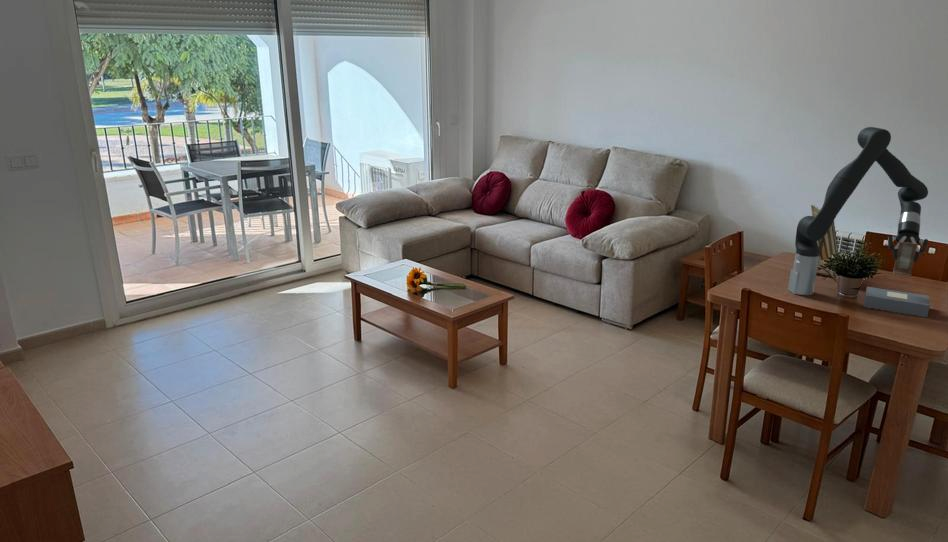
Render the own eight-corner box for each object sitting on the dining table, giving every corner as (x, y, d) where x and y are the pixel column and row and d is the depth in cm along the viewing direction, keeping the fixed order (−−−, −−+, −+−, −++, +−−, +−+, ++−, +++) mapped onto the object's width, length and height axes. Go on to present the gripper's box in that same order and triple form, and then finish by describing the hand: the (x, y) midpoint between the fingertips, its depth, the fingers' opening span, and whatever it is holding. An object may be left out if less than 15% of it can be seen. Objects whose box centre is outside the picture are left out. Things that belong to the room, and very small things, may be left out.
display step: (863, 307, 277) (865, 295, 276) (864, 297, 289) (867, 286, 287) (927, 317, 266) (929, 305, 265) (926, 307, 278) (928, 295, 276)
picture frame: (842, 285, 305) (854, 220, 296) (818, 283, 307) (829, 218, 298) (822, 265, 336) (832, 205, 327) (800, 263, 338) (810, 204, 329)
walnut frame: (892, 270, 279) (899, 240, 275) (909, 273, 276) (916, 242, 272) (893, 274, 274) (900, 243, 270) (911, 276, 271) (917, 245, 267)
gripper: (890, 218, 278) (886, 252, 272) (931, 222, 272) (928, 257, 265) (887, 228, 285) (883, 262, 278) (927, 232, 278) (924, 267, 272)
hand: (905, 259), depth 272 cm, fingers closed on walnut frame, 6 cm apart
